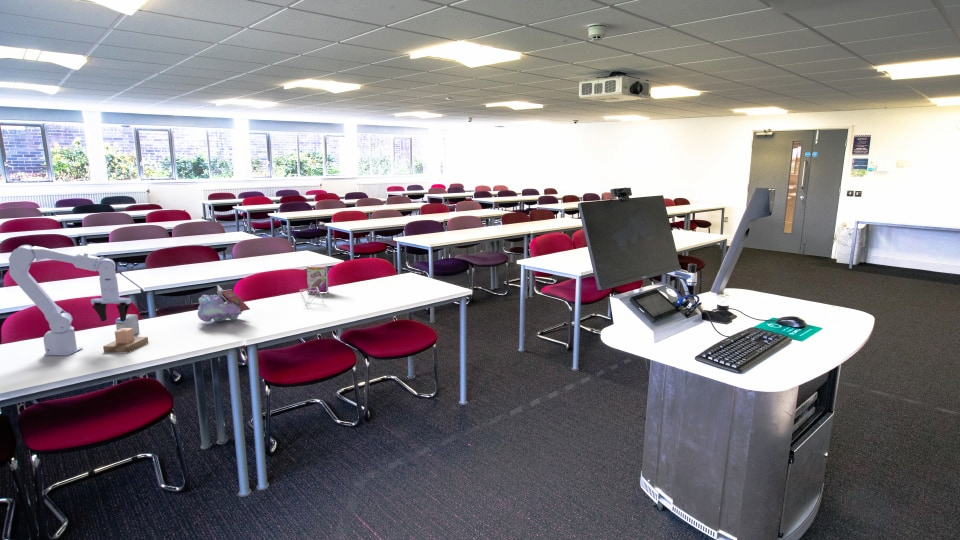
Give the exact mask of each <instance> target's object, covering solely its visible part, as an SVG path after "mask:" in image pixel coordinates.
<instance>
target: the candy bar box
mask: <svg viewBox="0 0 960 540" xmlns="http://www.w3.org/2000/svg"><path fill="white" fill-rule="evenodd" d="M328 275H329V274H328V266H327V265H308V266H306V283H307V284H306V285H307V286H306V287H307V288H310V289H307V290H311V291H307V293H308V292H309V293H313V292H314V293H317V292H318V291H320V292H327V291H328V292H329V278H328V277H329V276H328ZM313 287H315V288H313ZM317 287H318V289H319V290H318V289H317ZM315 289H316V290H315ZM318 293H319V292H318Z"/></svg>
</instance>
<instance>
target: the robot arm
mask: <svg viewBox="0 0 960 540" xmlns="http://www.w3.org/2000/svg"><path fill="white" fill-rule="evenodd" d="M34 260H35V261H36V262H38V261H41V260H43V261H44V260H52V261H58V262H64V263H69V264H72V265H73V266H74V267H75V268H76V269H77V268H78V269H82V270H86V271H87V270H88V271H91V272H98V274H99V280H98V281H99V287H100V294H101V297H100V298H99V297H98V298H92V299H90V304H91V305H92V309H93V310H94V311H95V312H96V314H97V315H98V317H99V318H100V321H101V322H105V321H107V304H111V305H113V304H115V305H116V304H117V305H116V308H117V309H118V312H119V318H120V319H121V321H124V320H126V315H128V311H129V309H130V306H131V303H132V299H131V298H130V297H120V294H119V292H120V291H119V284H118V277H117V272H116V263H115V261H114V260H113V259H111V258H109V257H103V256H100V257H98V256H93V255H90V254H89V253H88V252H87V253H86V252H84V253H78V254H76V255H74V254H70V253H67V252H63V251H60V250H55V249H51V248H47V247H43V246H37V245H34V246H32V245H30V244H22V245H20V246H18V247H17V248H15V249H13V251H12V252H11V253H10V255H9V257H8V262H9V263H8V264H9V265H8V267H9V271H8V273H9V276H10V277H11V278H12V280H13V282H15V283H16V284H17V285H18V286H19V288H20V289H21V290H22V291H23V292H24V293H25V294H26V295H27V297H28V298H29V299H30V300H31V301H32V302H33V303H34V304H35V306H37V308H38V309H39V310H40V311H41V312H42V314H43V315H44V318H45V320H46V321H47V322H48V326H49V329H50V330H48V331H47V332H46V333H45V334H44V335H43V345H44V351H45V352H44V354H43V355H44V356H69V355H72V354H74V353H76V352H79V351H81V350H83V347H81V346H80V347H78V346H77V339H76V333H75V327H74V326H72V322H73V316H72V315H71V313H69V312H67V311H65V310H64V309H63V308H62V307H60V306H59V305H57V303H56V302H55V301H54V300H53V299H52V298H51V297H50V295H49V294H48V293H47V292H46V291H45V290H44V288H42V286H41V285H40V284H39V283H38V281H36V278H34V277H33V276H32V275H31V273H30V272H29V270H30V268H31V265H32V263H33V262H34ZM78 350H79V351H78Z"/></svg>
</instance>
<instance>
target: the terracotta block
mask: <svg viewBox="0 0 960 540" xmlns="http://www.w3.org/2000/svg"><path fill="white" fill-rule="evenodd" d="M134 337H135V335H134V331H133V328H121V329H119V330H117V329H116V330H115V331H114V338H115V341H116V343H129V342H131V341H133V340H135V339H134Z"/></svg>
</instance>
